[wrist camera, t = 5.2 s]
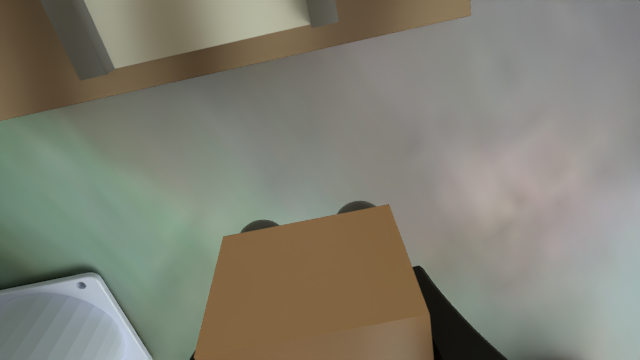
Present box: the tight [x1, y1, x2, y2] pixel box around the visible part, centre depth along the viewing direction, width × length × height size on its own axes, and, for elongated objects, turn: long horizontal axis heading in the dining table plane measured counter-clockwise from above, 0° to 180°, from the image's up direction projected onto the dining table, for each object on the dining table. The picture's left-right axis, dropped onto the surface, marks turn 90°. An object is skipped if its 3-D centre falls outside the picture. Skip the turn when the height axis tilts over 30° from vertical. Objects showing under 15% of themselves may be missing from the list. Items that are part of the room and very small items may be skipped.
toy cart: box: [194, 201, 434, 360], centre depth 11 cm, size 6×5×6 cm
